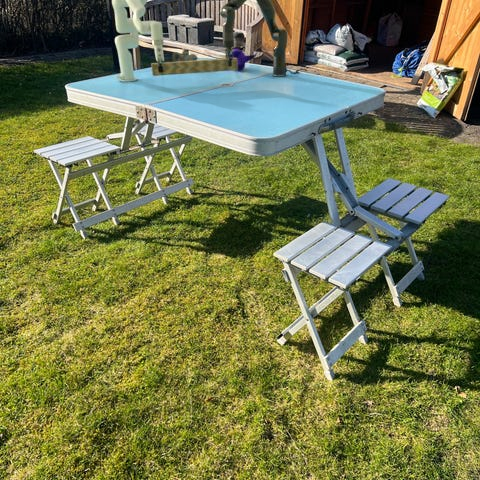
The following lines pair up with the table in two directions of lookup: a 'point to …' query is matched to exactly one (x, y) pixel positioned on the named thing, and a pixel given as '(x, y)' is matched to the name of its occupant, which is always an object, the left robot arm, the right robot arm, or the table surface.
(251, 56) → the toy
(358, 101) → the table surface
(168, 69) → the bar
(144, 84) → the table surface
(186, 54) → the teapot
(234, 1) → the right robot arm
